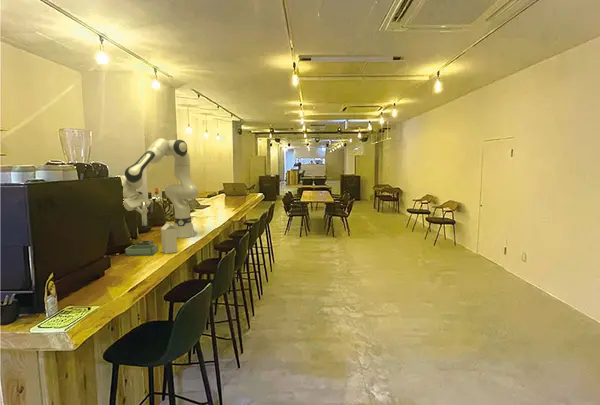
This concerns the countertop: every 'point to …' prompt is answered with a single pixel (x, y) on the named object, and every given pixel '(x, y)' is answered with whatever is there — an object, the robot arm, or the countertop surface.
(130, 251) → the tray
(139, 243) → the socket block
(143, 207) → the lock pin
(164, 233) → the milk carton
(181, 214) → the robot arm
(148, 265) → the countertop surface
